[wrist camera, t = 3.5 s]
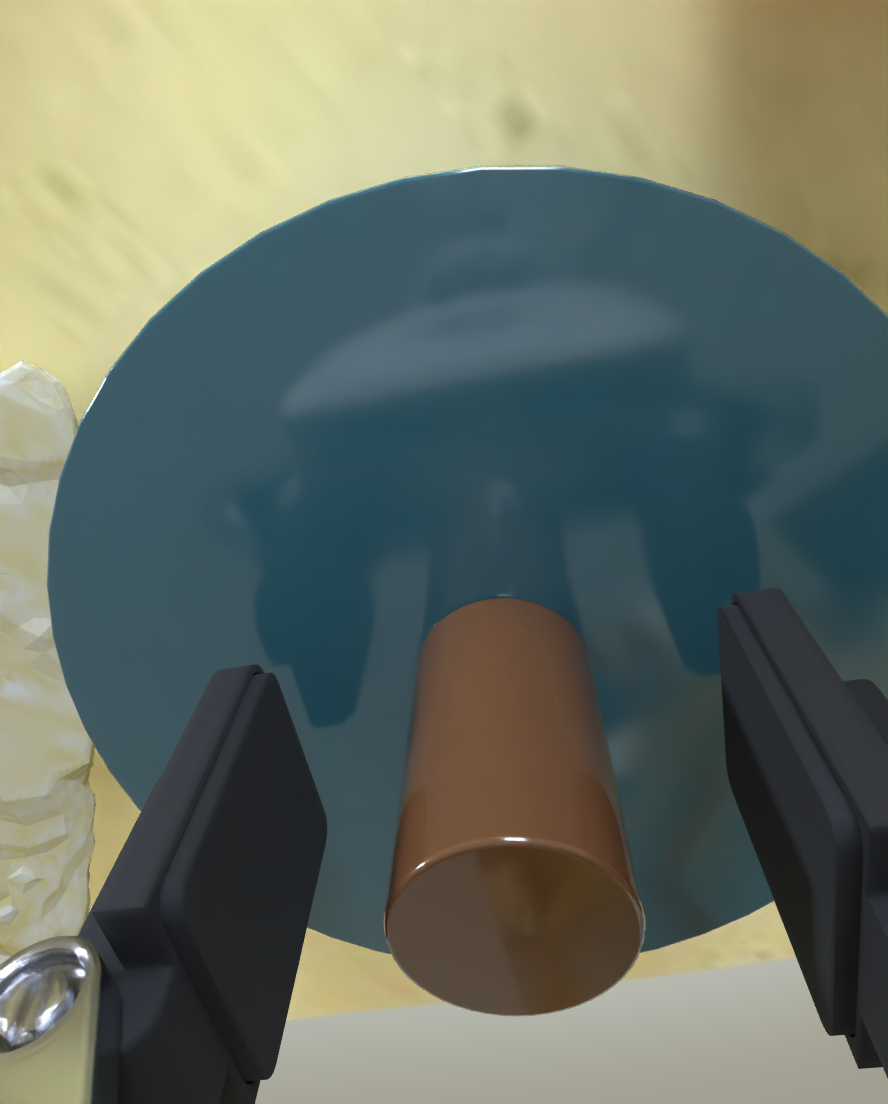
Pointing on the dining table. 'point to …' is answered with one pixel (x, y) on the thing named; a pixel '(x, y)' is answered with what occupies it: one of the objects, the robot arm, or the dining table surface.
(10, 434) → the white coral rock
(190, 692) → the jar lid
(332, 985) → the dining table surface
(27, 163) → the dining table surface
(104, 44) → the dining table surface
